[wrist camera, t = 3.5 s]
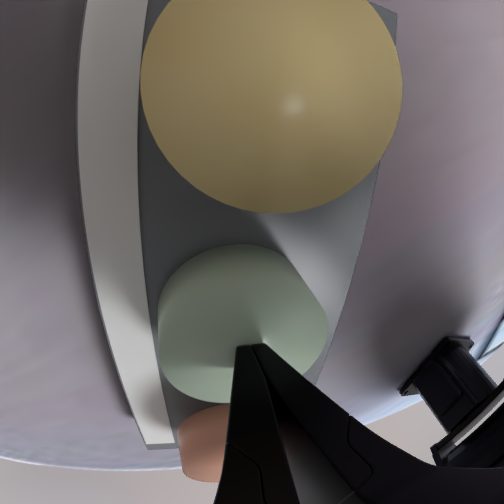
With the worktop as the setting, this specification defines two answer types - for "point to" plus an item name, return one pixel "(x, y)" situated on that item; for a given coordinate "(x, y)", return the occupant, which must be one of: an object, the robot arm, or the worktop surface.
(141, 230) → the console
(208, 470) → the terracotta button
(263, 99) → the ochre button
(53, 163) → the worktop surface
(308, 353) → the sage button
